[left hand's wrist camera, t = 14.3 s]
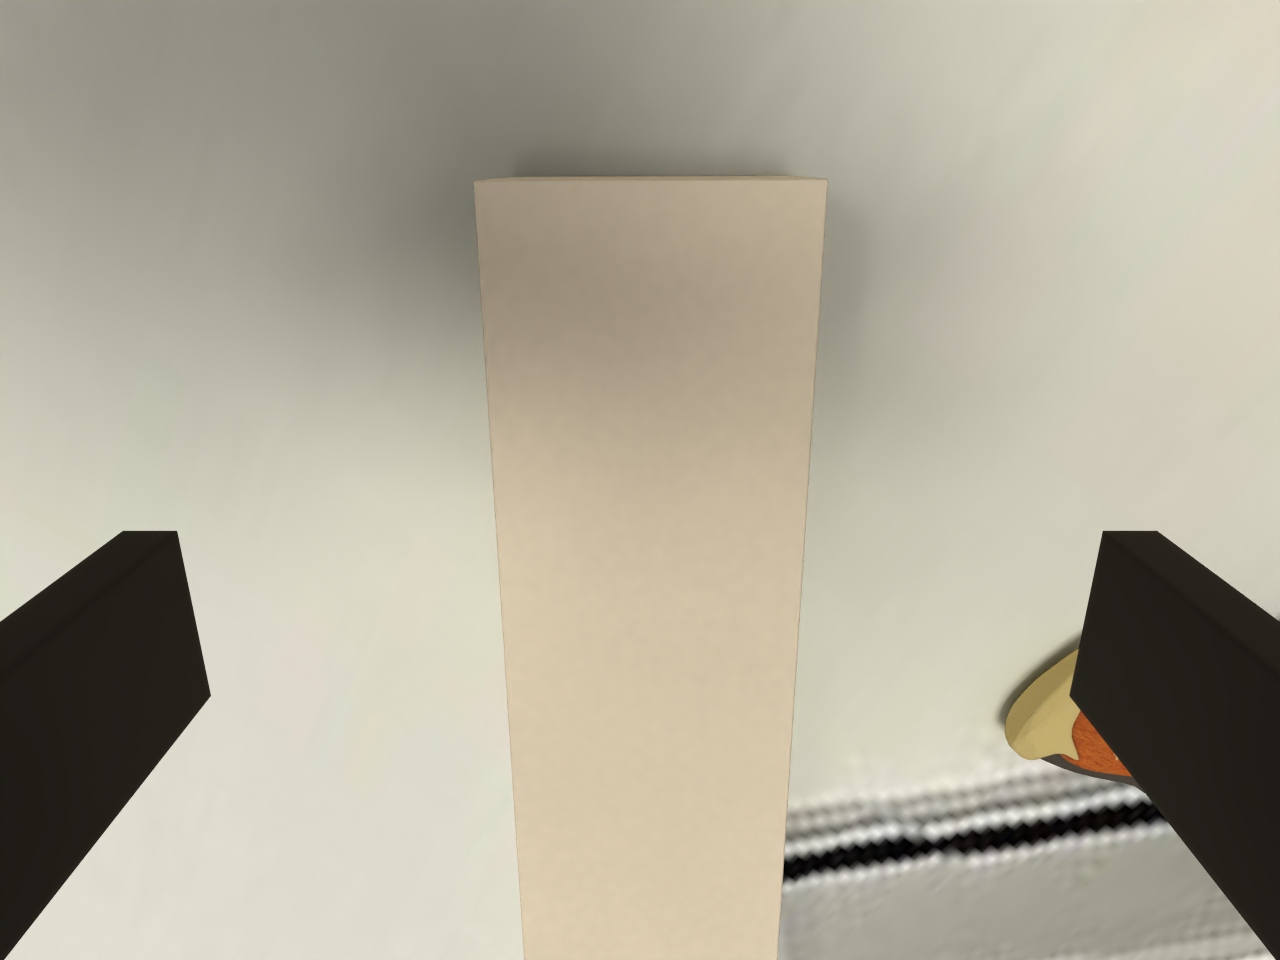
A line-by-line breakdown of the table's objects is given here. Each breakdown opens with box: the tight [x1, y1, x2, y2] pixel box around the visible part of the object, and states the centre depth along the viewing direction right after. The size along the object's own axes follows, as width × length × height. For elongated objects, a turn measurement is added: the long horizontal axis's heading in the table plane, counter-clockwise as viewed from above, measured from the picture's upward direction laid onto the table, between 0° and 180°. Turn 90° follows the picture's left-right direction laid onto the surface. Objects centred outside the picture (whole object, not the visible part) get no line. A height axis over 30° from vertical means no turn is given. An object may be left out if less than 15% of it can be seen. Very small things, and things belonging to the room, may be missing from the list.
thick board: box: [474, 176, 828, 960], centre depth 35 cm, size 56×9×7 cm, turn 0°
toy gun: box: [1005, 649, 1145, 793], centre depth 33 cm, size 3×19×10 cm
